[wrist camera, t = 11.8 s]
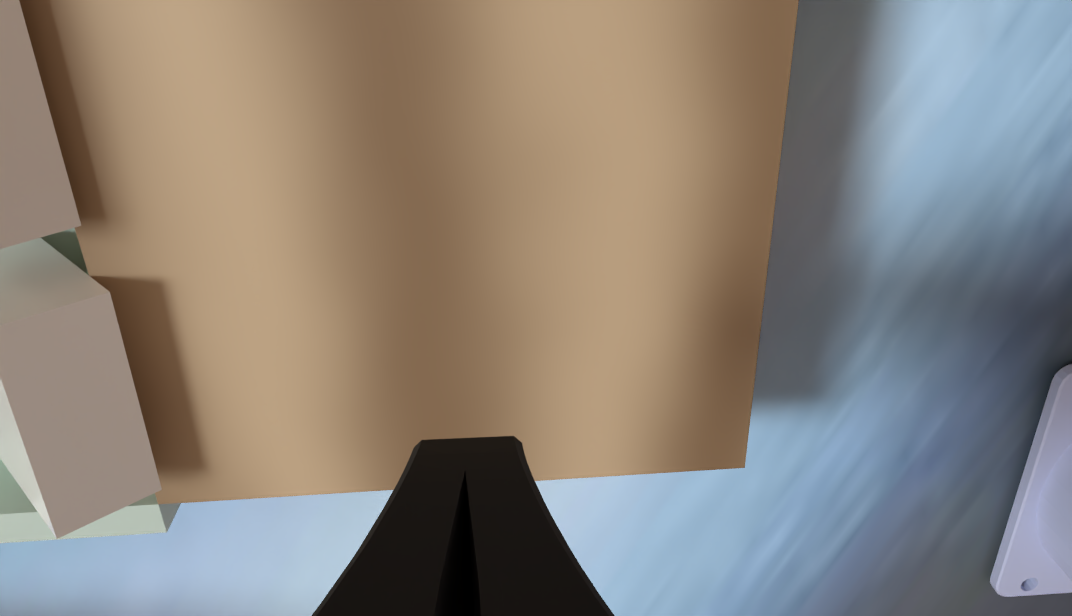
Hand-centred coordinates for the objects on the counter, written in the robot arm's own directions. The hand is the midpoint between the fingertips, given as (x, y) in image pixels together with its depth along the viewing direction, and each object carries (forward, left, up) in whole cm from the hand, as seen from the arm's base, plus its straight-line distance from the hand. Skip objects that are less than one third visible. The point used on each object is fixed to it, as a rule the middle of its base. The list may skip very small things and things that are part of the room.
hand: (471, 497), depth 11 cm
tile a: (+8, +1, -7) cm, 10 cm away
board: (+1, -2, -9) cm, 9 cm away
